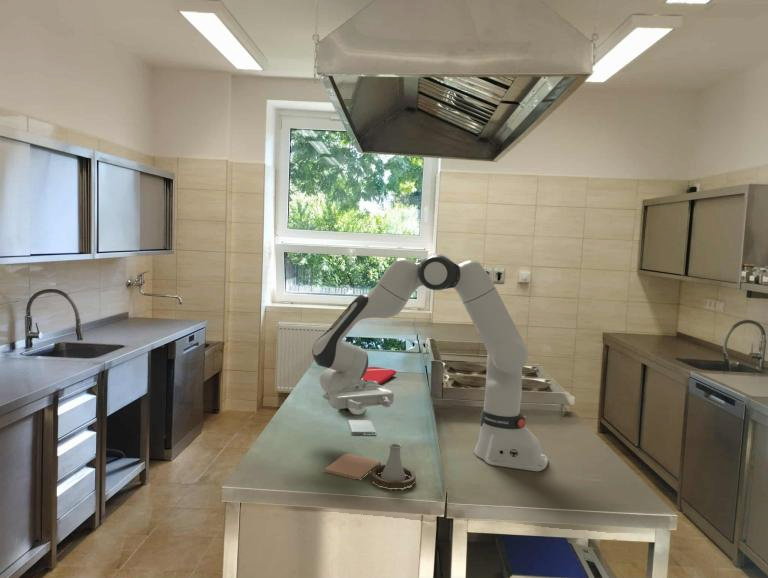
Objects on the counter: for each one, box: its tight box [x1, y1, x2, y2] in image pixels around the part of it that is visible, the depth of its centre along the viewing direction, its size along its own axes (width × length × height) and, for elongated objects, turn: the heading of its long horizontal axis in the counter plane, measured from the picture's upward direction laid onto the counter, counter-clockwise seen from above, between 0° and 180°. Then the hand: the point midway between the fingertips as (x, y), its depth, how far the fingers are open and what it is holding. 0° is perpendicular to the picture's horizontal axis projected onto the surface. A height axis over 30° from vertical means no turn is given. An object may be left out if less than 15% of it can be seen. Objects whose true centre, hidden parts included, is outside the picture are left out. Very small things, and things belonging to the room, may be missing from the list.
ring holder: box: [370, 464, 417, 488], centre depth 168 cm, size 12×12×2 cm
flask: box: [379, 443, 407, 481], centre depth 168 cm, size 7×7×10 cm
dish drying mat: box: [363, 366, 397, 385], centre depth 269 cm, size 16×41×4 cm, turn 158°
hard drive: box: [347, 419, 377, 435], centre depth 209 cm, size 2×8×12 cm
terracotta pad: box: [323, 453, 381, 481], centre depth 175 cm, size 11×14×1 cm
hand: (374, 405), depth 177 cm, fingers open, 8 cm apart
